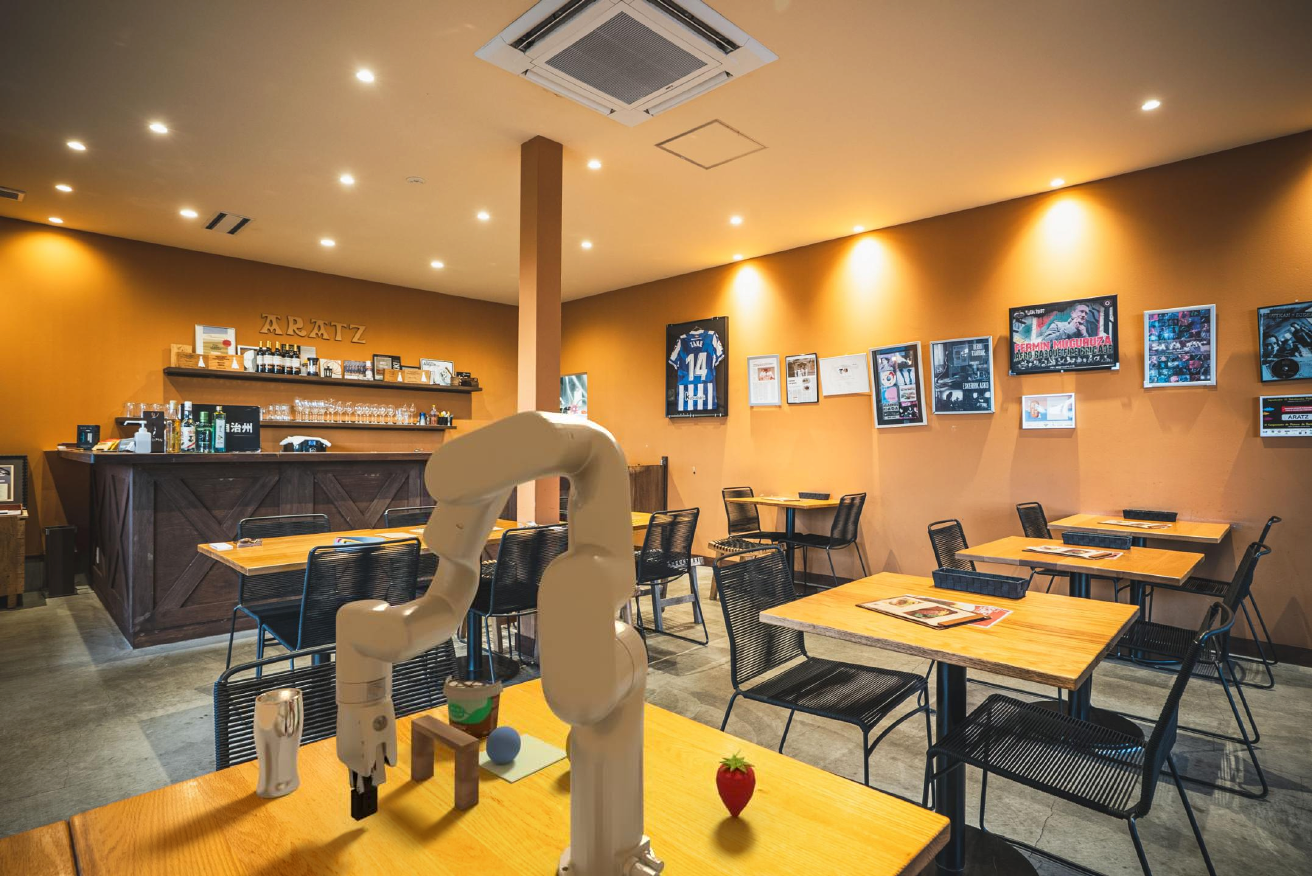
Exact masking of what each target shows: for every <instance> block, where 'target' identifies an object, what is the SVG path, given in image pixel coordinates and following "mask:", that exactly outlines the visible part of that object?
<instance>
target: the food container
mask: <svg viewBox="0 0 1312 876" xmlns="http://www.w3.org/2000/svg"><path fill="white" fill-rule="evenodd" d="M503 692H504V685H503V683H502V680H499V681H497V682H494V683H492V684H491V683H486V682H482V681H478V680H456V679H453V678H452V674H450V675H449V676H448V677H446V680H445V682H444V684H443V690H442V693H443V695H444V696H445V697H446V701H447V702H446V703H447V712H448V714H447V715H448V725H450V726H452V727H454V728H456V729H458V730H461V731H463V732H465V733H467V734H469V735H471V736H473V737H475V738H477V739H479V740H480V739H483V738H482V737H485V738H487V737H486V736H488V737H489V735H490V734H491V733H492V732H493V731H494V730H495V729H497V728H498V721H499V720H498V719H499V711H500V700H501V693H503Z"/></svg>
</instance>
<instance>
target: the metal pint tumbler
mask: <svg viewBox="0 0 1312 876" xmlns="http://www.w3.org/2000/svg"><path fill="white" fill-rule="evenodd" d="M303 702H304V701H303V691H302V689H300V688H292V687H290V688H289V687H288V688H279V689H274V690H270V691H266V692H264V693H262V694H260V695H258V696H256V698H255V705H254V713H253V714H254V715H253V740H254V746H255V751H256V756H257V760H258V770H259V771H258V772H259V773H258V780H257V785H256V788H255V789H256V790H255V795H256V796H257V797H258V798H260V799H264V798H267V799H268V798H270V799H276V798H280V797H281V798H282V797H284V796H287V795H289V794H291V793H293V792H295V791H296V790H297V789H298V788H299V787H300V783H301V782H300V776H299V772H298V755H299V750H300V747H301V740H302V735H303V727H304V703H303Z"/></svg>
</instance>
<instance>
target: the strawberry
mask: <svg viewBox="0 0 1312 876" xmlns="http://www.w3.org/2000/svg"><path fill="white" fill-rule="evenodd" d="M741 751H742V749H739V750H738V752H737V753H736V754H734V753H733V754H732V757H731V758H729V757H722V760H721V761H720V760H719V761H718V764H721V765H720V766H719V767H718V768H717V771H716V776H715V785H716V789H717V792H718V795H719V797H720V799H721V801H722V803H723V804H724V806H725V808H726V809H727V811H728V812H729V814H730V816H731V817H733V818H738V817H739V816H740V815H741V813H742V811H744V809H745V808H747V805H748V804H749V802H750V800H751V799H752V797H753V795H754V791H755V787H756V783H757V781H756V774H755V771H754V769H753V768H755V767H756V766H755V765H754V764H752V763H750V762H747V761H745V758H746V757H745V756H742V757H737V756H738V755H739V753H740V752H741ZM752 767H753V768H752Z"/></svg>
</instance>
